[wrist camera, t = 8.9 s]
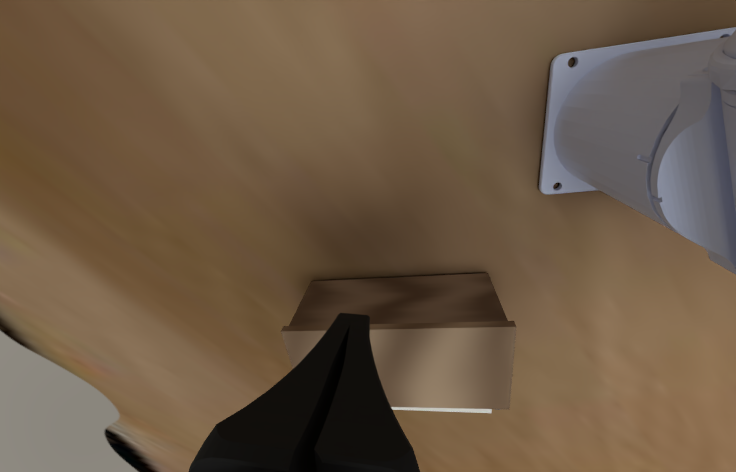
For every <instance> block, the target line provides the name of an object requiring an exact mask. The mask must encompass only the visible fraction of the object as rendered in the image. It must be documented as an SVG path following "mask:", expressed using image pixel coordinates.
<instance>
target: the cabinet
mask: <svg viewBox="0 0 736 472" xmlns="http://www.w3.org/2000/svg"><path fill="white" fill-rule="evenodd" d="M340 313H350V314H361V315H368V316H369V317H370V342H371V348H372V353H373V357H374V361H375V365H376V368H377V372H378V375H379V378H380V381H381V384H382V387H383V389H384V392H385V394H386V397H387V399H388V402H389V404H390V406H391V407H418V408H465V409H509V408H510V396H511V384H512V372H513V360H514V348H515V336H516V325H515V323H514V321H508V320H507V318H506V316H505V313H504V311H503V308H502V306H501V304H500V301H499V299H498V296H497V294H496V292H495V289H494V287H493V284H492V282H491V280H490V277H489V275H488V273H478V274H457V275H435V276H414V277H393V278H372V279H351V280H330V281H311V283H310V285H309V287H308V289H307V291H306V293H305V295H304V297H303V299H302V301H301V303H300V305H299V307H298V309H297V311H296V313H295V315H294V317H293V319H292V321H291V323H290V325H289V326H284V327H283V328H282V330H281V333H282V336H283V339H284V343H285V346H286V349H287V352H288V355H289V358H290V361H291V364H292V367H293V369H294V368H295V367H296V366H297V365H298V364H299V363H300V362H301V361H302V360H303V359H304V357H305V356H306V355H307V354H308V353H309V352H310V351H311V350H312V349H313V348H314V346H315V345H316V344H317V343H318V341H319V340H320V339H321V338H322V337H323V335H324V334H325V333H326V331H327V330H328V329H329V327H330V326H331V325H332V323H333V322H334V320H335V319H336V317H337V316H338V314H340Z"/></svg>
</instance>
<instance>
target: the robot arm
mask: <svg viewBox="0 0 736 472" xmlns="http://www.w3.org/2000/svg"><path fill="white" fill-rule="evenodd" d="M721 36H723V38H720V37H721ZM572 57H573V58H574V59H575V64H574V65H573V66H572V67H571V68H570V67H569V66H568V61H569V59H570V58H572ZM555 183H559V184H560V185H559V187H558V188H555V189H553V186H554V184H555ZM539 190H540V191H541V192H542V193H544V194H560V193H572V192H584V191H596V190H600V191H602V192H604V193H606V194H607V195H609V196H611V197H613V198H615V199H616V200H618V201H620V202H622V203H624V204H625V205H627V206H629V207H631V208H633V209H634V210H636V211H638V212H640V213H642V214H644V215H645V216H647V217H649V218H651V219H653V220H654V221H656V222H658V223H660V224H662V225H663V226H665V227H667V228H669V229H671V230H673V231H674V232H676V233H679V234H680V235H682V236H683V237H685V238H687V239H689V240H691V241H692V242H694V243H696V244H698V245H700V246H702V247H704V248H705V249H706V251H707V252H708V255H709V258H710V260H712V261H713V262H715V263H717V264H719V265H720V266H722V267H724V268H725V269H727V270H729V271H731V272H732V273H734V274H736V27H733V28H727V29H720V30H714V31H707V32H701V33H694V34H687V35H681V36H674V37H668V38H661V39H655V40H648V41H642V42H635V43H628V44H622V45H615V46H609V47H602V48H596V49H589V50H583V51H576V52H570V53H563V54H560V55H557V56H556V57H555V58H554V59H553V60H552V63H551V67H550V77H549V88H548V98H547V108H546V118H545V128H544V138H543V149H542V159H541V169H540V179H539ZM189 472H420V470H419V467H418V464H417V460H416V457H415V454H414V451H413V448H412V446H411V444H410V443H409V441H408V439H407V438H406V436H405V434H404V432H403V430H402V429H401V427H400V425H399V423H398V421H397V419H396V417H395V415H394V413H393V410H392V408H391V406H390V404H389V402H388V399H387V397H386V394H385V392H384V389H383V387H382V384H381V381H380V378H379V375H378V372H377V368H376V365H375V361H374V357H373V353H372V348H371V342H370V317H369V316H368V315H361V314H350V313H340V314H338V316H337V317H336V319H335V320H334V322H333V323H332V325H331V326H330V327H329V329H328V330H327V331H326V333H325V334H324V335H323V337H322V338H321V339H320V340H319V341H318V343H317V344H316V345H315V346H314V348H313V349H312V350H311V351H310V352H309V353H308V354H307V355H306V356H305V357H304V359H303V360H302V361H301V362H300V363H299V364H298V365H297V366H296V367H295V368H294V369H293V370H292V371H290V372H289V373H288V374H287V375H286V376H285V377H284V378H283V379H281V380H280V381H279V382H278V383H277V384H276V385H274V386H273V387H272V388H271V389H269V390H268V391H267V392H266V393H264V394H263V395H261V396H260V397H259V398H257V399H256V400H254V401H253V402H252V403H250V404H249V405H247V406H246V407H244V408H243V409H241V410H240V411H238V412H236V413H235V414H233V415H231V416H230V417H228V418H226V419H225V420H223V421H221V422H220V423H218V424H216V426H215V427H214V429H213V430H212V432H211V433H210V434H209V436H208V437H207V439H206V440H205V442H204V443H203V445H202V447H201V448H200V450H199V452H198V454H197V455H196V457H195V459H194V461H193V462H192V464H191V466H190V469H189Z"/></svg>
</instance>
